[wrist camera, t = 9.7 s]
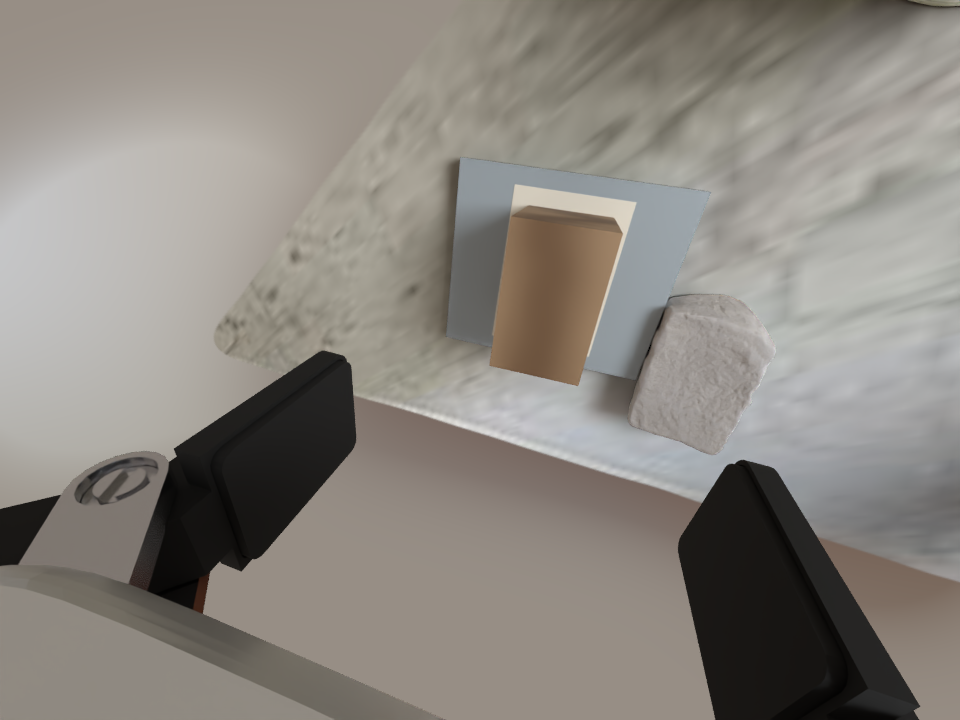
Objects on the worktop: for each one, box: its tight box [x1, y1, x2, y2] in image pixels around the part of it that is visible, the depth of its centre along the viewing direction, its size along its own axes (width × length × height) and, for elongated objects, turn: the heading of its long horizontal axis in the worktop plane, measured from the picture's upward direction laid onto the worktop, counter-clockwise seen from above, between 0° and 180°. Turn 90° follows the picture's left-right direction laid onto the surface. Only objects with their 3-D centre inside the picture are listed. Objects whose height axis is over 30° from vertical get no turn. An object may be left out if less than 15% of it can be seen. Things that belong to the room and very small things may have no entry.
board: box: [446, 157, 711, 380], centre depth 24 cm, size 14×12×1 cm
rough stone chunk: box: [628, 294, 776, 455], centre depth 23 cm, size 10×6×6 cm, turn 170°
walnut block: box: [490, 205, 623, 386], centre depth 20 cm, size 5×8×6 cm, turn 174°
